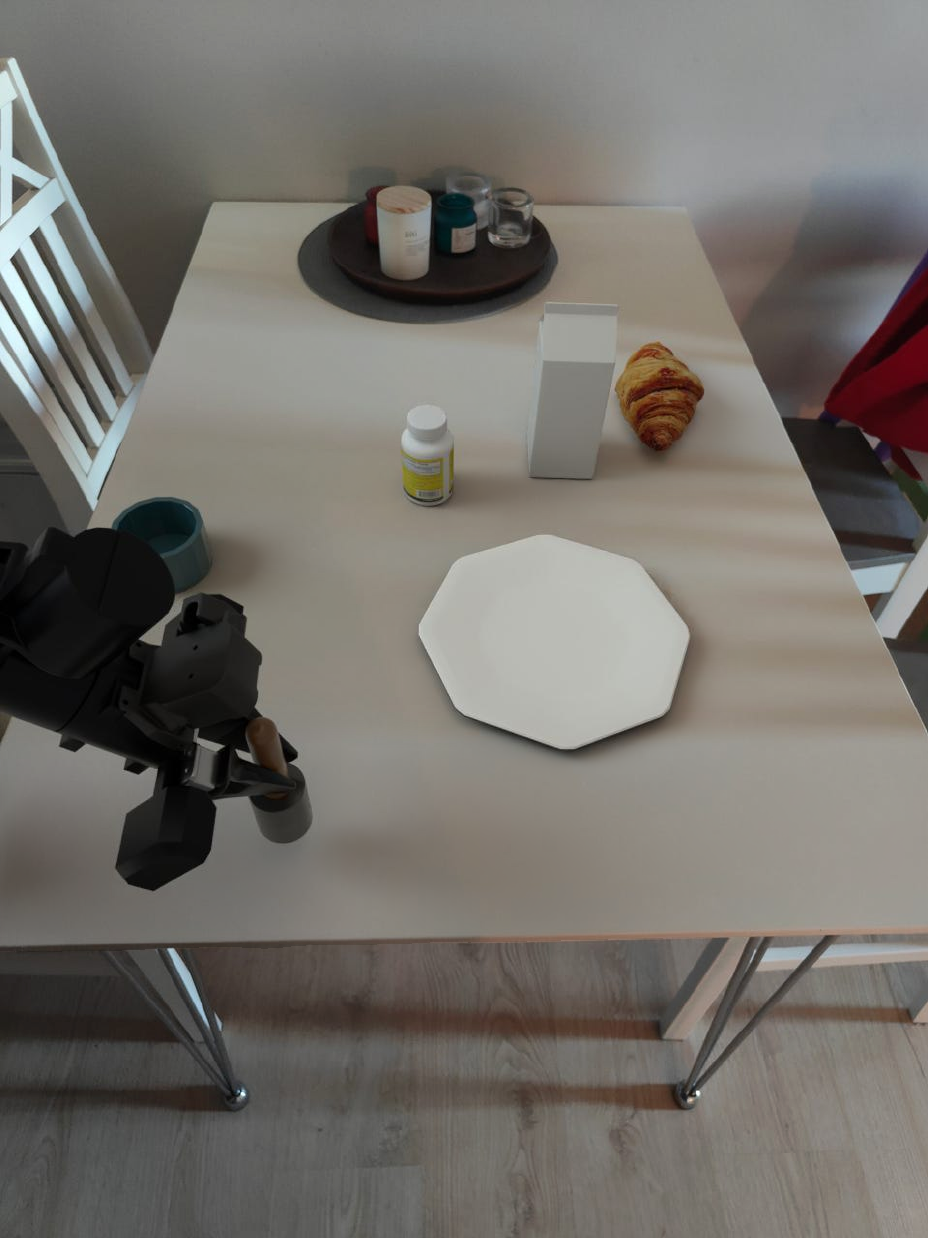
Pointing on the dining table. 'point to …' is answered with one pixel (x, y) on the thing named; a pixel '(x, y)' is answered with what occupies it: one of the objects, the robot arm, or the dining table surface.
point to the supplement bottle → (427, 456)
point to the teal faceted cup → (171, 536)
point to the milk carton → (570, 388)
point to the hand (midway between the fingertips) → (293, 773)
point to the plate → (555, 641)
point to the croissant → (658, 395)
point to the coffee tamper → (285, 811)
